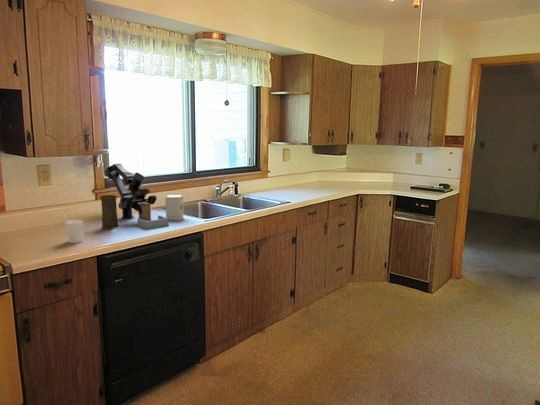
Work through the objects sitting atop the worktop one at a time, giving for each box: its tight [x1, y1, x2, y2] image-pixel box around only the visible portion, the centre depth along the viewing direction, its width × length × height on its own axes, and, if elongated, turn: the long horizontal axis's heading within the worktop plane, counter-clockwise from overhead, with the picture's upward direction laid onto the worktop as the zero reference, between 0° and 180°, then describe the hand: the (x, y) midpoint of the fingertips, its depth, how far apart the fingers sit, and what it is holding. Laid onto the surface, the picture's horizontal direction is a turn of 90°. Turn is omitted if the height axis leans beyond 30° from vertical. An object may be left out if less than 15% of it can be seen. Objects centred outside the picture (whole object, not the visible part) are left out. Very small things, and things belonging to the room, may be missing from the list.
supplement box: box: [165, 194, 184, 221], centre depth 247 cm, size 9×9×15 cm
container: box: [99, 194, 120, 230], centre depth 226 cm, size 9×9×18 cm
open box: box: [137, 215, 170, 230], centre depth 230 cm, size 10×14×5 cm
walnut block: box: [138, 202, 152, 221], centre depth 236 cm, size 5×5×11 cm
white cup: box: [64, 219, 84, 244], centre depth 199 cm, size 8×8×10 cm
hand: (145, 212), depth 235 cm, fingers closed on walnut block, 5 cm apart
